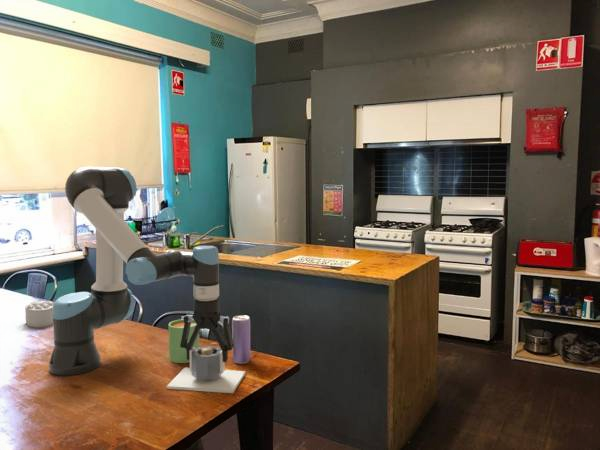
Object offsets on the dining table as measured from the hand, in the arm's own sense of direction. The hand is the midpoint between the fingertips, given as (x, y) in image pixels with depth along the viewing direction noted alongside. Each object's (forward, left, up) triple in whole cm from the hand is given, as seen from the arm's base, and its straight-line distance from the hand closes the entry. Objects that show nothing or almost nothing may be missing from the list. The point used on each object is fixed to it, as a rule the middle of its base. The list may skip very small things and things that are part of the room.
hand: (207, 370), depth 146 cm
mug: (-15, +18, -3) cm, 24 cm away
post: (0, 0, -3) cm, 3 cm away
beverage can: (+6, +17, -3) cm, 18 cm away
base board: (0, 0, -3) cm, 3 cm away
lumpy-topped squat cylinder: (-88, +45, -3) cm, 99 cm away
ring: (0, 0, -1) cm, 1 cm away
